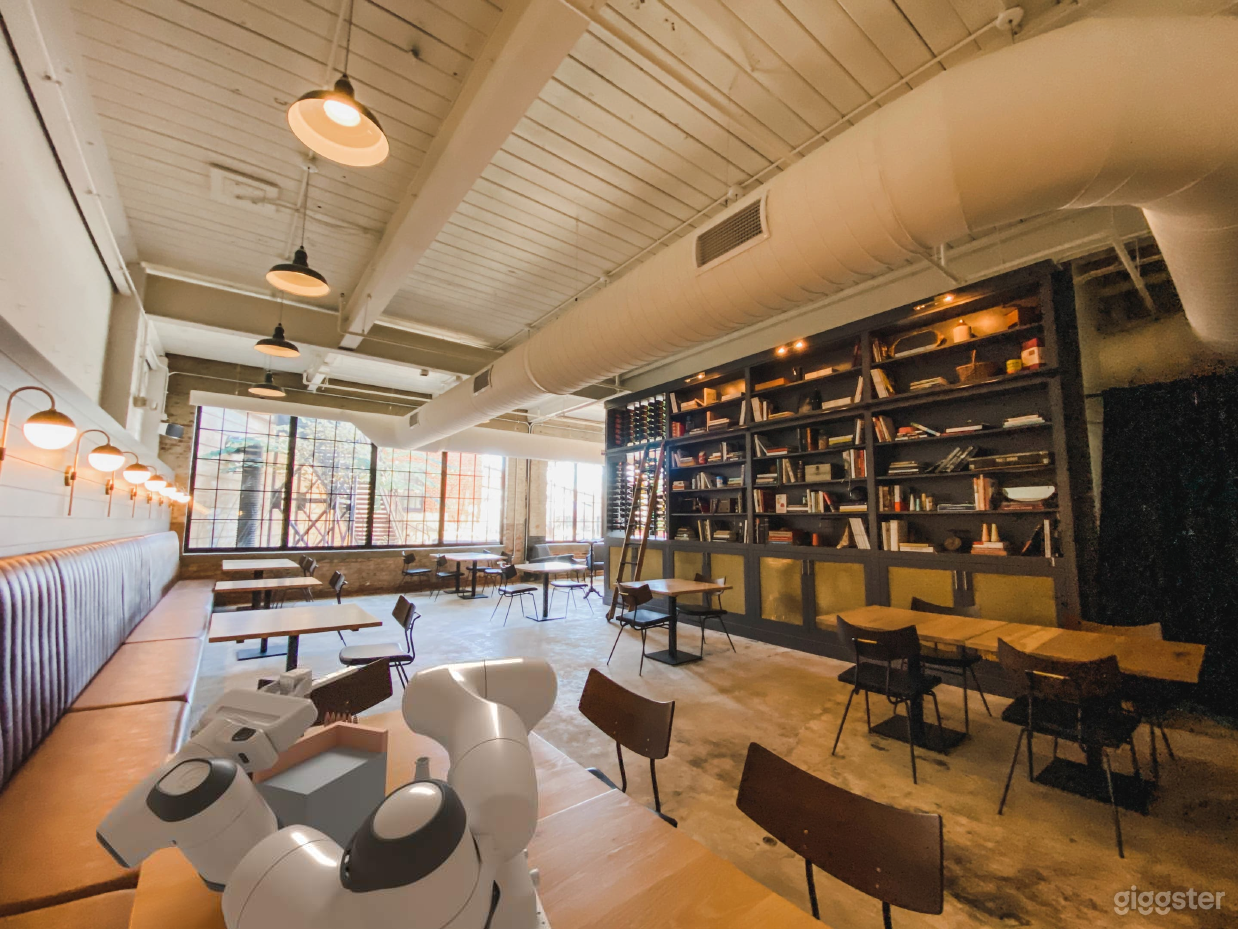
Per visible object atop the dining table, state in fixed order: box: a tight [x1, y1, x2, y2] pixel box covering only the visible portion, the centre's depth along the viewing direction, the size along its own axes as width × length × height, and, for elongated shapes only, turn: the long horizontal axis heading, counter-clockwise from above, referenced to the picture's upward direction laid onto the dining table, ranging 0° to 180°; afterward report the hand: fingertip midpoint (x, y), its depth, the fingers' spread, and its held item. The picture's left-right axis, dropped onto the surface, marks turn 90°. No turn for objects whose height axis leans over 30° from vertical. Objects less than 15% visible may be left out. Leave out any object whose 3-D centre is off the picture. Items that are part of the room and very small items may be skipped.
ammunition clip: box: [323, 711, 359, 728], centre depth 136 cm, size 11×2×12 cm, turn 77°
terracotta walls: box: [252, 721, 389, 783], centre depth 98 cm, size 18×14×4 cm
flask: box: [413, 755, 432, 781], centre depth 113 cm, size 7×7×10 cm
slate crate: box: [252, 745, 388, 850], centre depth 97 cm, size 18×14×16 cm
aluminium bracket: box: [279, 665, 359, 696], centre depth 97 cm, size 14×4×4 cm, turn 160°
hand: (298, 679), depth 93 cm, fingers closed on aluminium bracket, 3 cm apart
